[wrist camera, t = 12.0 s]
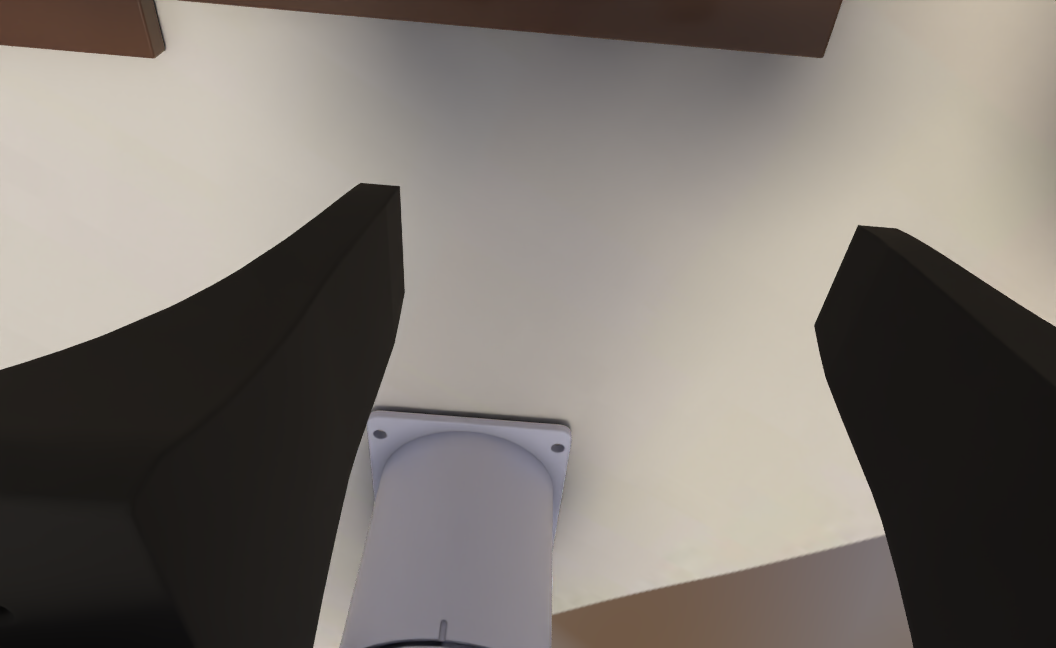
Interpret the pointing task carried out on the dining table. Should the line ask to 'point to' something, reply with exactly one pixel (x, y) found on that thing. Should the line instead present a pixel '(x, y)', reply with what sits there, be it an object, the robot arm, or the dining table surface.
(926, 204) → the dining table surface
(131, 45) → the spatula
